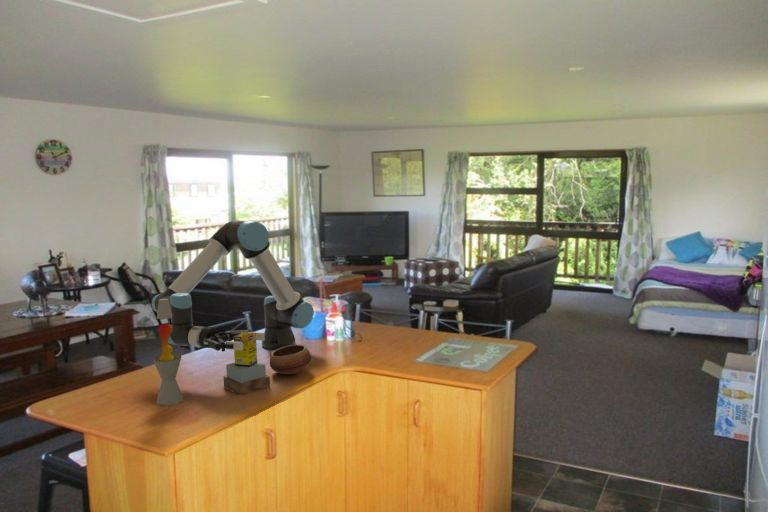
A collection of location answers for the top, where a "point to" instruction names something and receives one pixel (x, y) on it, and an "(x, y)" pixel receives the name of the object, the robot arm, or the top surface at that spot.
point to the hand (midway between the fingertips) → (253, 341)
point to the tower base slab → (246, 385)
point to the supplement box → (246, 350)
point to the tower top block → (246, 372)
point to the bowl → (290, 359)
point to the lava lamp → (167, 360)
